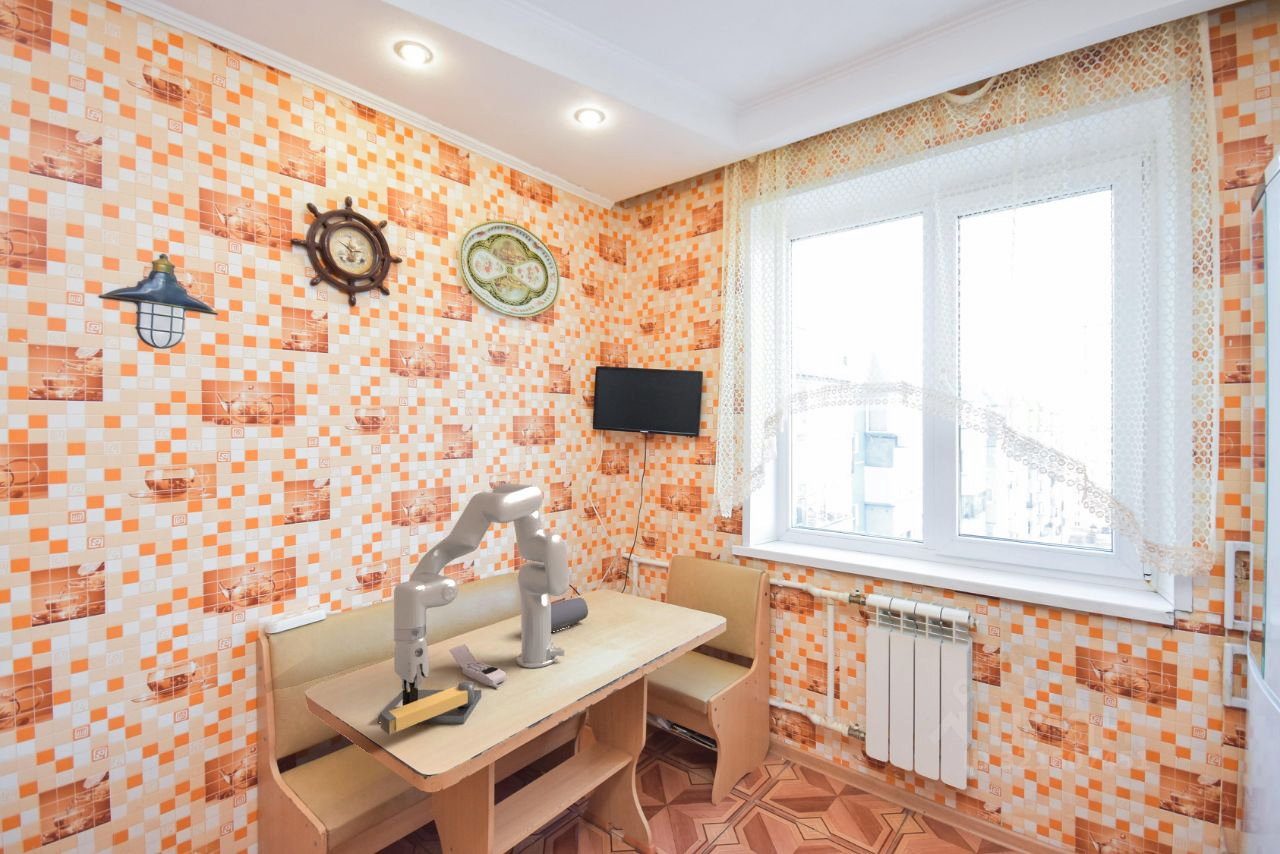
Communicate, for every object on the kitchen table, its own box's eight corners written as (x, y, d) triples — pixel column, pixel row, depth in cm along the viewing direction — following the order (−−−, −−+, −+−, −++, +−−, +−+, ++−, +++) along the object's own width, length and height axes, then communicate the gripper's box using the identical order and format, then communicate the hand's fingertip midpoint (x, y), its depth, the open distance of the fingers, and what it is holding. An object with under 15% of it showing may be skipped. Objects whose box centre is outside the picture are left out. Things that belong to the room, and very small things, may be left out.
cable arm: (468, 697, 147) (468, 679, 147) (477, 703, 144) (477, 684, 144) (380, 732, 130) (380, 711, 130) (389, 740, 127) (389, 718, 127)
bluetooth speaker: (573, 619, 216) (573, 593, 216) (589, 624, 209) (589, 598, 210) (525, 634, 200) (525, 607, 200) (540, 641, 193) (540, 612, 193)
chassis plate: (481, 697, 152) (481, 688, 152) (463, 723, 138) (463, 714, 138) (403, 696, 152) (403, 688, 152) (378, 723, 138) (378, 714, 138)
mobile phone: (464, 643, 176) (511, 663, 160) (464, 661, 176) (512, 683, 160) (447, 649, 172) (494, 670, 156) (447, 668, 172) (494, 691, 156)
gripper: (438, 635, 135) (438, 709, 135) (411, 621, 145) (411, 690, 145) (408, 643, 130) (408, 721, 129) (382, 629, 140) (382, 700, 139)
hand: (410, 705), depth 137 cm, fingers closed
